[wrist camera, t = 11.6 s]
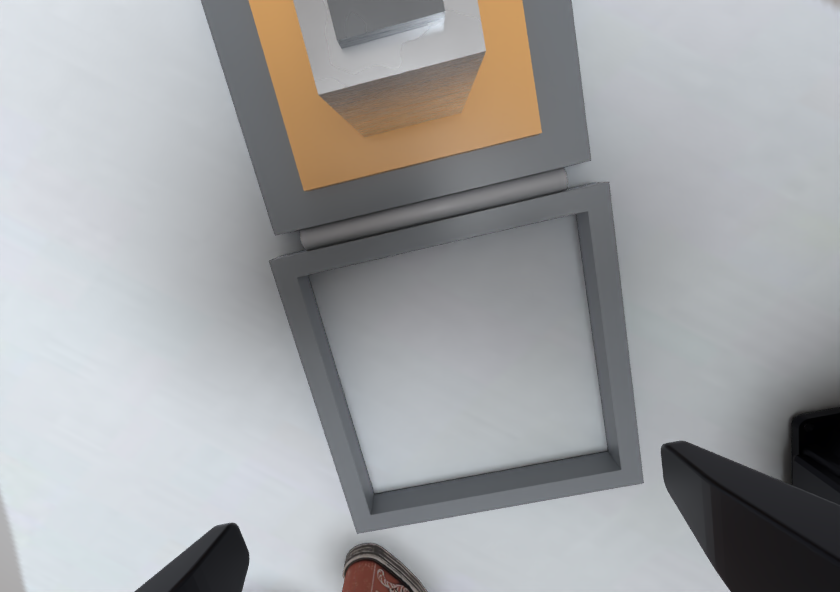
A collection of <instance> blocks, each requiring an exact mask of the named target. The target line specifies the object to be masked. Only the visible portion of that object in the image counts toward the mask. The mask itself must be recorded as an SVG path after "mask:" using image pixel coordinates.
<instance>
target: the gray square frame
mask: <svg viewBox="0 0 840 592" xmlns="http://www.w3.org/2000/svg"><path fill="white" fill-rule="evenodd" d="M573 214H576V217H577V224H578V232H579V239H580V246H581V254H582V261H583V269H584V276H585V283H586V291H587V298H588V305H589V313H590V320H591V327H592V335H593V342H594V349H595V357H596V364H597V371H598V379H599V386H600V393H601V401H602V408H603V415H604V423H605V430H606V437H607V445H608V452H602V453H597V454H591V455H586V456H581V457H575V458H570V459H564V460H559V461H553V462H548V463H542V464H537V465H532V466H526V467H521V468H515V469H510V470H504V471H499V472H493V473H488V474H483V475H477V476H472V477H466V478H461V479H455V480H450V481H444V482H439V483H434V484H428V485H423V486H417V487H412V488H406V489H401V490H395V491H390V492H385V493H379V494H374V492H373V489H372V485H371V482H370V479H369V475H368V472H367V469H366V466H365V462H364V459H363V456H362V452H361V449H360V446H359V442H358V439H357V436H356V433H355V429H354V426H353V423H352V419H351V416H350V413H349V409H348V406H347V403H346V399H345V396H344V393H343V390H342V386H341V383H340V380H339V376H338V373H337V370H336V366H335V363H334V360H333V357H332V353H331V350H330V347H329V343H328V340H327V337H326V333H325V330H324V327H323V324H322V320H321V317H320V314H319V310H318V307H317V304H316V300H315V297H314V294H313V290H312V287H311V284H310V281H309V277H308V275H310V274H314V273H319V272H323V271H328V270H332V269H336V268H341V267H345V266H349V265H354V264H358V263H363V262H367V261H371V260H376V259H380V258H384V257H389V256H393V255H398V254H402V253H406V252H411V251H415V250H420V249H424V248H428V247H433V246H437V245H441V244H446V243H450V242H455V241H459V240H463V239H468V238H472V237H476V236H481V235H485V234H490V233H494V232H498V231H503V230H507V229H511V228H516V227H520V226H525V225H529V224H533V223H538V222H542V221H546V220H551V219H555V218H560V217H564V216H568V215H573ZM269 263H270V266H271V269H272V272H273V275H274V278H275V282H276V285H277V288H278V291H279V294H280V297H281V300H282V303H283V306H284V309H285V312H286V316H287V319H288V322H289V325H290V328H291V331H292V334H293V337H294V340H295V343H296V346H297V350H298V353H299V356H300V359H301V362H302V365H303V368H304V371H305V374H306V377H307V380H308V384H309V387H310V390H311V393H312V396H313V399H314V402H315V405H316V408H317V411H318V414H319V418H320V421H321V424H322V427H323V430H324V433H325V436H326V439H327V442H328V445H329V448H330V452H331V455H332V458H333V461H334V464H335V467H336V470H337V473H338V476H339V479H340V482H341V486H342V489H343V492H344V495H345V498H346V501H347V504H348V507H349V510H350V513H351V516H352V520H353V523H354V526H355V529H356V532H357V534H359V533H364V532H370V531H376V530H381V529H387V528H393V527H398V526H404V525H410V524H415V523H421V522H427V521H432V520H438V519H444V518H449V517H455V516H461V515H466V514H472V513H477V512H483V511H489V510H494V509H500V508H506V507H511V506H517V505H523V504H528V503H534V502H540V501H545V500H551V499H557V498H562V497H568V496H574V495H579V494H585V493H591V492H596V491H602V490H608V489H613V488H619V487H625V486H630V485H636V484H642V483H644V481H643V473H642V464H641V455H640V446H639V438H638V429H637V420H636V412H635V403H634V394H633V385H632V377H631V368H630V359H629V351H628V342H627V333H626V324H625V316H624V307H623V298H622V290H621V281H620V272H619V263H618V255H617V246H616V237H615V229H614V220H613V211H612V203H611V194H610V185H609V182H598V183H592V184H587V185H583V186H579V187H574V188H570V189H566V190H564V191H560V192H556V193H552V194H547V195H543V196H539V197H534V198H530V199H526V200H522V201H517V202H513V203H509V204H504V205H500V206H496V207H492V208H487V209H483V210H479V211H474V212H470V213H466V214H462V215H457V216H453V217H449V218H444V219H440V220H436V221H432V222H427V223H423V224H419V225H414V226H410V227H406V228H402V229H397V230H393V231H389V232H384V233H380V234H376V235H372V236H367V237H363V238H359V239H354V240H350V241H346V242H342V243H337V244H333V245H329V246H324V247H320V248H316V249H312V250H304V251H300V252H296V253H292V254H287V255H283V256H280V257H277V258H275V259H272V260H270V261H269Z"/></svg>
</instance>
